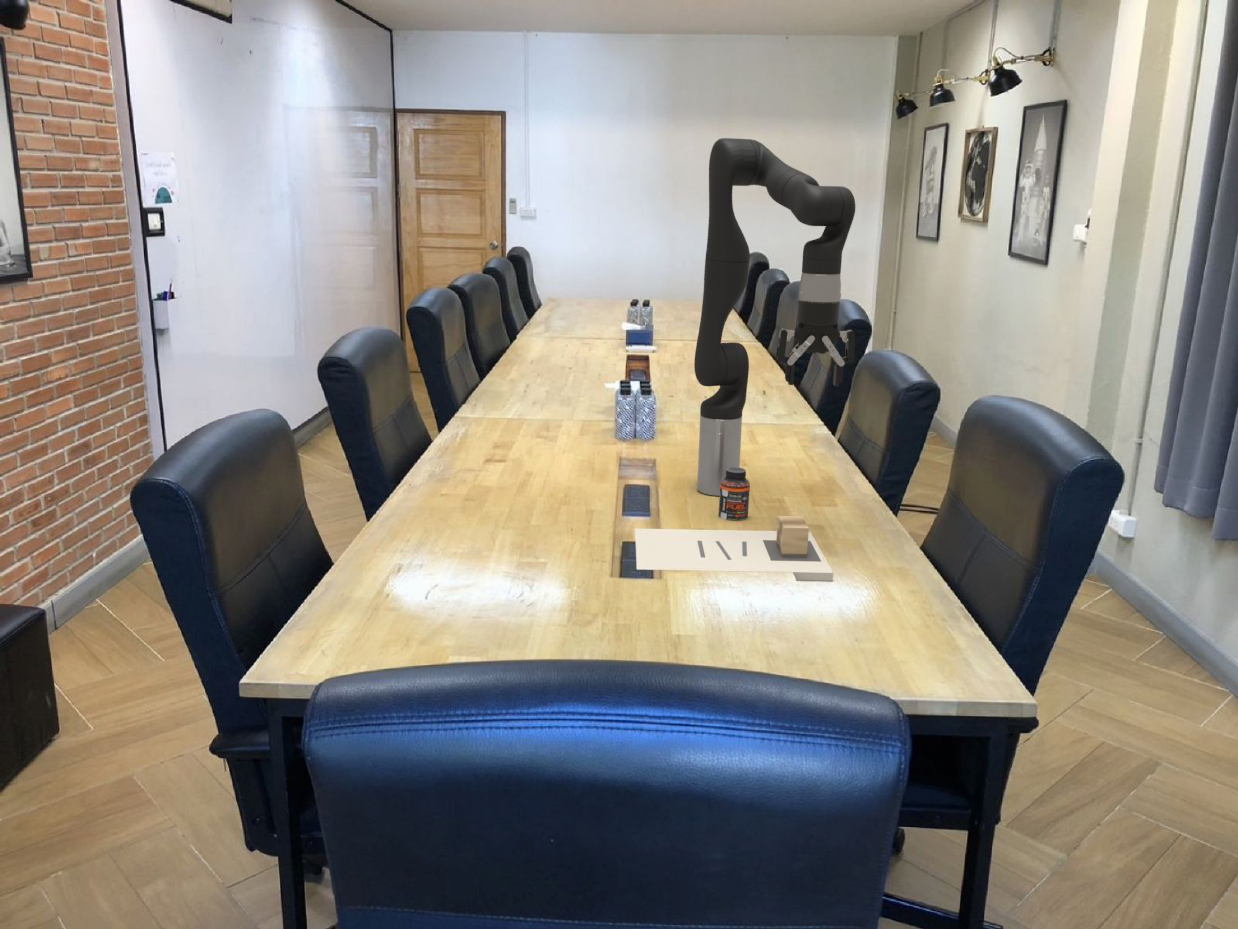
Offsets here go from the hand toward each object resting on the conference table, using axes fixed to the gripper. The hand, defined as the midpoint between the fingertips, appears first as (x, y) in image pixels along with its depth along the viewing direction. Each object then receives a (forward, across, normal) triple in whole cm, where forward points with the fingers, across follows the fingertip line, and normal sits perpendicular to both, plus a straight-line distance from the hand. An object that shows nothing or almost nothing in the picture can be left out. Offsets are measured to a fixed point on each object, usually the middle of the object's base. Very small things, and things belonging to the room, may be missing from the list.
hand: (813, 384), depth 192 cm
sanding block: (+28, +4, +13) cm, 32 cm away
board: (+30, +16, +13) cm, 36 cm away
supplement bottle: (+30, +13, -7) cm, 34 cm away
